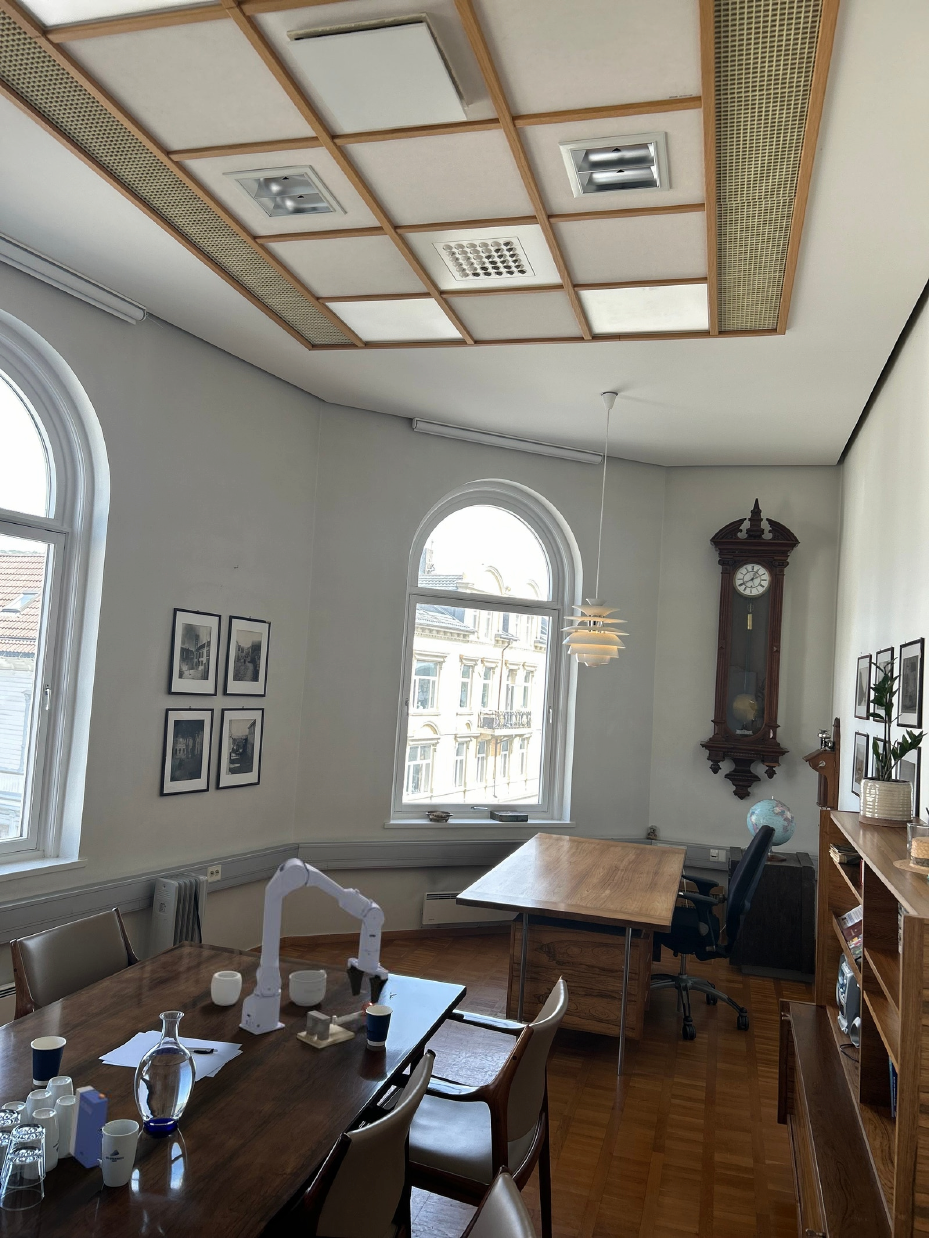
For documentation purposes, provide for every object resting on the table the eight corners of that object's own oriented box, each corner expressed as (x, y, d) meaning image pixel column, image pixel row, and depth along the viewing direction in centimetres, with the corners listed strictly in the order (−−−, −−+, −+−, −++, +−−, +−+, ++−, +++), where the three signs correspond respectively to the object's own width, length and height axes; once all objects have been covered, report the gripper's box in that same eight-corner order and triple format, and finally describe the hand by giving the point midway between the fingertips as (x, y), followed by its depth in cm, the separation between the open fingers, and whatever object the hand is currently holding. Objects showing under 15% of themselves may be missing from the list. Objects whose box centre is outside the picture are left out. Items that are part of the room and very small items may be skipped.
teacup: (304, 1012, 254) (307, 983, 255) (279, 1002, 261) (281, 973, 262) (339, 1001, 265) (342, 973, 266) (314, 991, 272) (316, 964, 273)
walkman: (101, 1163, 168) (108, 1097, 169) (87, 1168, 166) (94, 1101, 167) (83, 1147, 174) (90, 1082, 175) (68, 1151, 172) (75, 1086, 173)
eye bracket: (319, 1048, 229) (321, 1022, 230) (297, 1037, 235) (299, 1012, 236) (354, 1037, 238) (356, 1012, 239) (332, 1027, 244) (334, 1003, 245)
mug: (239, 1007, 254) (242, 979, 255) (208, 1008, 252) (211, 979, 253) (240, 993, 266) (242, 966, 266) (210, 993, 264) (213, 966, 264)
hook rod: (338, 1033, 237) (339, 1015, 237) (326, 1028, 240) (328, 1010, 240) (376, 1022, 247) (378, 1004, 248) (365, 1017, 250) (366, 1000, 251)
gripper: (397, 952, 248) (393, 1003, 247) (362, 940, 258) (358, 989, 257) (379, 956, 243) (374, 1008, 242) (344, 944, 253) (339, 993, 251)
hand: (365, 998), depth 249 cm, fingers open, 7 cm apart
